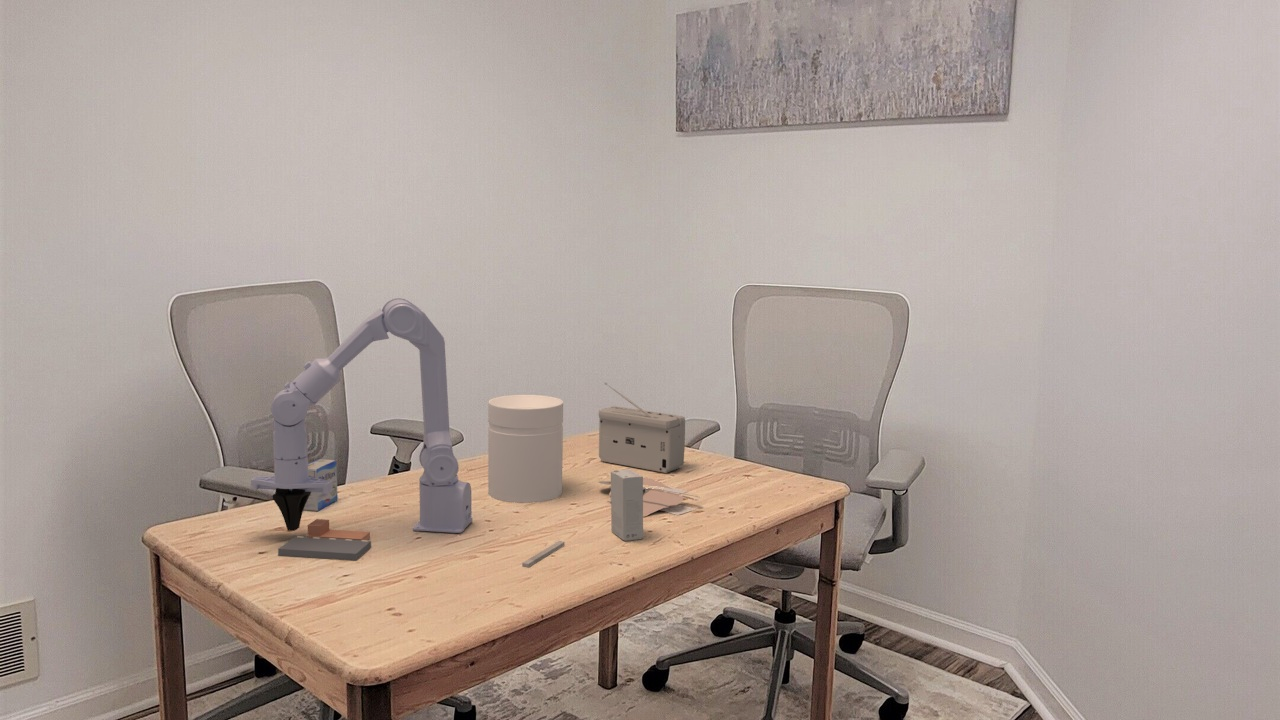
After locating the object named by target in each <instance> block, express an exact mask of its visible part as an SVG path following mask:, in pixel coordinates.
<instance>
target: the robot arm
mask: <svg viewBox="0 0 1280 720" xmlns="http://www.w3.org/2000/svg"><path fill="white" fill-rule="evenodd" d="M388 333H390V334H391V335H393V336H395V337H398V338H400V339H403V340H406V341H409V343H410V344H412V345H413V347H415V348H416V349H418V351H419V352H418V353H419V368H420V382H421V383H420V384H421V399H422V403H421V404H422V416H423V417H422V418H423V434H422V435H423V439H422V440H423V445H422V448H421V450H420V451H419V463H420V465H421V467H422V468H423V473H422V475H421V476H420V477H419V481H418V482H419V521H418V522H417V523H416V524H415V525H413V527H412V531H420V532H421V531H422V532H435V533H436V532H437V533H452V534H461V533H463V531H464V530H465V529H466V528H467V527H468V526H469V525H470V524H471V523H472V521H473V517H472V487H471V483H470V482H467V481H462V480H459V476H458V473H459V468H460V466H459V462H458V460H457V458H456V457H455V455H454V452H453V443H452V437H451V431H450V416H449V399H448V398H449V397H448V378H447V360H446V359H447V358H446V344H445V343H446V342H445V337H444V336H443V334H442V333H441V332H440V330H438V328H437V327H436V325H434V323H433V322H432V321H431V319H430V318H429V317H428V316H427V314H426V313H425V312H424V311H422V309H421V308H420V307H418V306H417V305H416V304H413V302H411V301H409V300H407V299H406V298H401V297H397V298H392V299H390V300H388V301H387V302H386V303H385V304H384V305H383V307H382V308H378V309H377V310H375V311H374V312H373V313H371V315H369V316H368V317H367V318H365V320H363V321H362V322H361V323H360V325H358V327H356V328H355V329H354V331H352V332H351V334H350V335H348V336H347V337H346V339H344V340H343V342H342V343H341V344H339V346H337V348H336V349H334V351H332V353H331V354H330V355H329V356H328V357H326V358H315V359H314V360H313V361H309V360H308V361H307V362H306V363H305V364H304V365H303V368H304V369H303V370H302V372H300V374H298V375H297V376H296V377H295V378H294V379H293V380H292V381H291V382H289V381H287V382H286V383H285V384H284V388H285V389H282V390H280V391H279V392H277V393H276V395H275V396H274V398H273V400H272V403H271V414H272V417H273V424H272V425H273V426H272V427H273V429H274V431H273V432H272V437H273V438H272V441H273V444H272V445H273V447H272V448H273V464H274V465H273V467H274V468H273V470H274V472H273V473H274V476H271V475H270V476H255V477H253V478H251V479H250V488H251V490H253V491H257V490H273V491H274V490H275V493H273V494H272V500H273V501H274V503H275V504H276V505H277V507H278V509H279V511H280V513H281V515H282V517H283V521H284V524H285V527H286V530H287V531H291V532H292V531H293V532H295V531H297V530H298V529H299V528H300V524H301V521H302V520H301V519H302V515H303V512H304V510H303V509H304V507H305V504H306V502H307V500H308V498H309V496H310V494H311V492H323V494H328V493H330V492H332V491H333V483H332V481H329V480H322V479H317V478H311V477H308V464H309V456H308V455H309V453H308V452H309V450H308V430H307V429H306V416H307V414H308V408H310V407H313V406H315V405H317V404H318V402H320V401H321V399H323V397H325V396H326V395H327V394H328V393H329V392H330V391H331V390H332V389H333V388H334V387H335V386H336V385H337V384H339V382H340V380H341V374H340V373H341V370H343V368H345V367H346V366H347V365H348V364H349V363H351V362H352V361H353V360H354V359H355V358H356V357H357V356H358V355H360V354H361V353H362V352H363V351H364V350H365V349H366V348H367V347H368V346H370V344H372V343H373V342H377V341H382V340H388V339H390V337H389V335H388Z"/></svg>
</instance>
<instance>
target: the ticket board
mask: <svg viewBox="0 0 1280 720" xmlns="http://www.w3.org/2000/svg"><path fill="white" fill-rule="evenodd" d="M371 548H372V541H371V540H367V541H366V540H351V539H335V538H319V537H307V536H300V535H295V536H294V537H292V538H291V539H290V540H288V541H286V542H285V543H284V544H283V545H281V546H280V547H279V548H278V549H277V553H278V554H277V556H279V557H280V556H281V557H282V556H283V557H295V558H296V557H298V558H313V559H329V560H343V561H344V560H345V561H358V560H359V559H360V558H361V557H362V556H364V555H365V554H366V552H367V551H369V550H370V549H371Z"/></svg>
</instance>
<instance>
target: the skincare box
mask: <svg viewBox="0 0 1280 720" xmlns="http://www.w3.org/2000/svg"><path fill="white" fill-rule="evenodd" d="M643 478H644V476H643V475H640V474H639V473H637V472H635V471H634V470H632V469H630V468H627V469H626V468H625V469H618V470H611V471H610V481H611V485H610V486H611V488H610V491H611V502H610V507H611V508H610V513H611V515H610V516H611V517H610V519H611V524H610V525H611V532H612V533H613V534H614V535H616V537H619V538H620V539H621V540H623V541H625V542H628V541H637V540H642V539H643V538H644V517H643Z"/></svg>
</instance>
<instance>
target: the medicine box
mask: <svg viewBox="0 0 1280 720" xmlns="http://www.w3.org/2000/svg"><path fill="white" fill-rule="evenodd" d="M337 468H338V467H337V460H335V459H315V460H314V461H312V462H308V477H311V478H317V479H322V480H329V481H332V483H333V491H332V492H330V493H328V494H323V492H311V494H310V496H309V498H308V500H307V502H306V504H305V507H304V509H303V511H310V512H320V511H321V510H323V509H325V508H327V507H328V506H330V505H332V504H333V503H335V502H337V501H338V497H339V496H338V475H337V474H338V471H337V470H338V469H337Z"/></svg>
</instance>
